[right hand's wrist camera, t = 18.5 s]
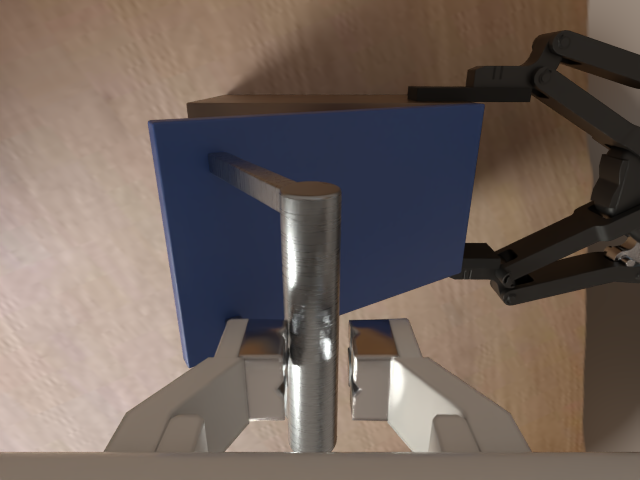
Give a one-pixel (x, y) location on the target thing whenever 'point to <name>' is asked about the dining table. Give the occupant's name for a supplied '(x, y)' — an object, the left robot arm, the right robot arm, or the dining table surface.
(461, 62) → the dining table surface
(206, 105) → the chest
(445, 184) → the lid
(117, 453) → the right robot arm
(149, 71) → the dining table surface
